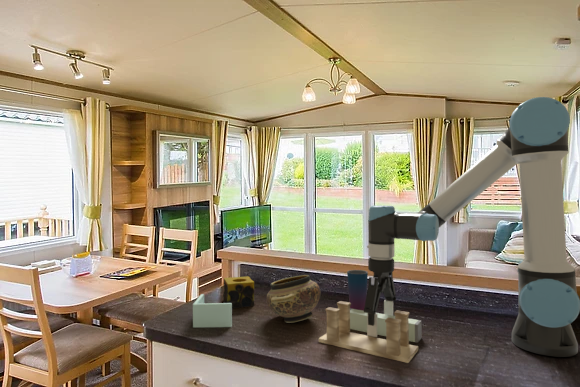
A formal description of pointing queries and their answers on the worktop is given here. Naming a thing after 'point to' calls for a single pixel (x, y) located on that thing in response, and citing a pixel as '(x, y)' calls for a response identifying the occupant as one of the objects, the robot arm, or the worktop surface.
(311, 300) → the ceramic bowl
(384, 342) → the bar on post stand
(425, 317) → the worktop surface
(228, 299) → the yellow patterned cube
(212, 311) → the l-shaped corner panel
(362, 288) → the cup
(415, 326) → the rail
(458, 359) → the worktop surface
